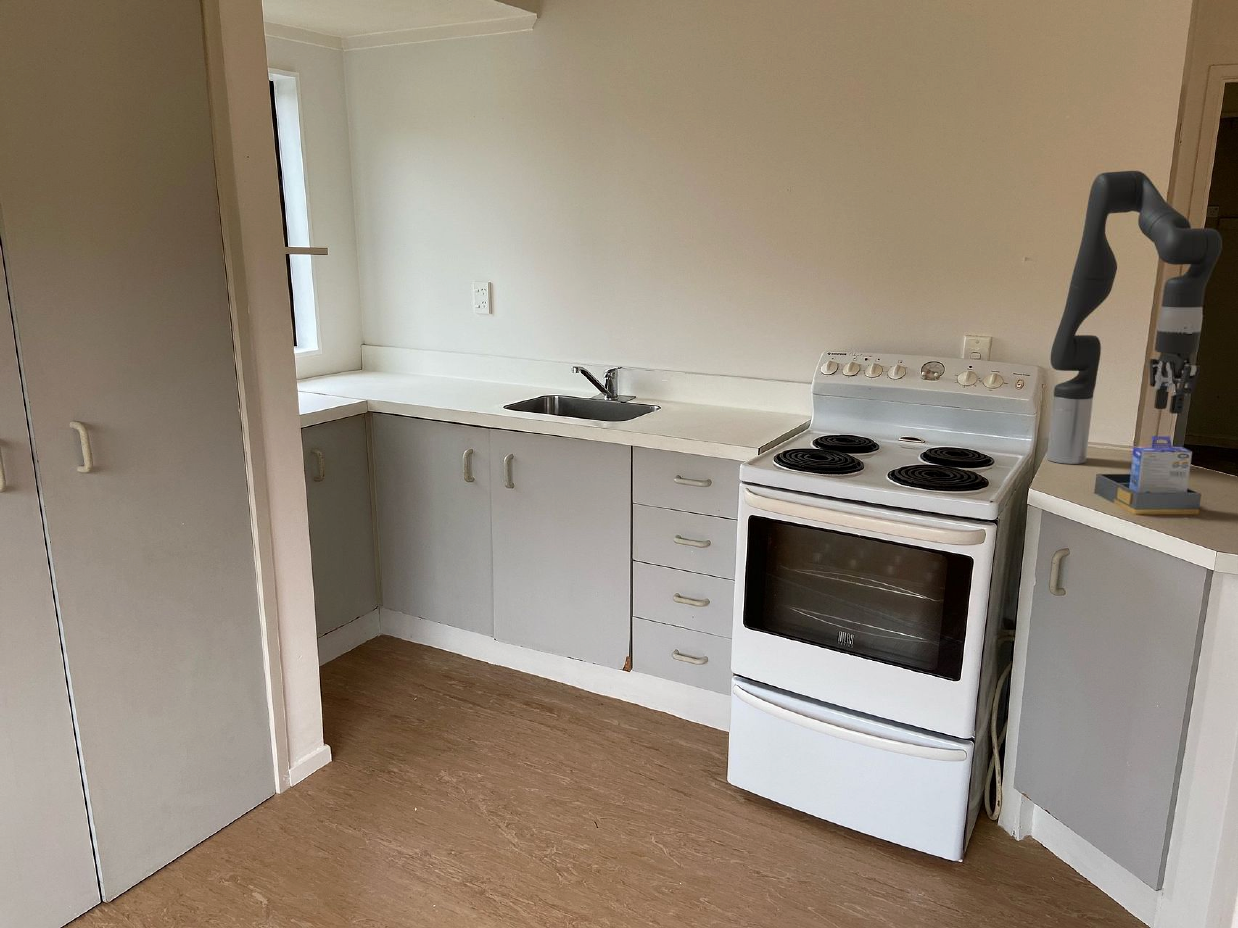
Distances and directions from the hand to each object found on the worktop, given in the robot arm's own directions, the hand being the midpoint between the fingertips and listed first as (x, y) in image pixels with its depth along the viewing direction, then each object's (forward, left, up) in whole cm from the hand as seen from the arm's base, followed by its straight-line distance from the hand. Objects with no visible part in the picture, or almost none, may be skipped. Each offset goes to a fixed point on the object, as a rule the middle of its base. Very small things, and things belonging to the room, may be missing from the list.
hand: (1167, 410), depth 177 cm
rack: (-4, 0, -21) cm, 22 cm away
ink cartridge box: (0, 0, -21) cm, 21 cm away
